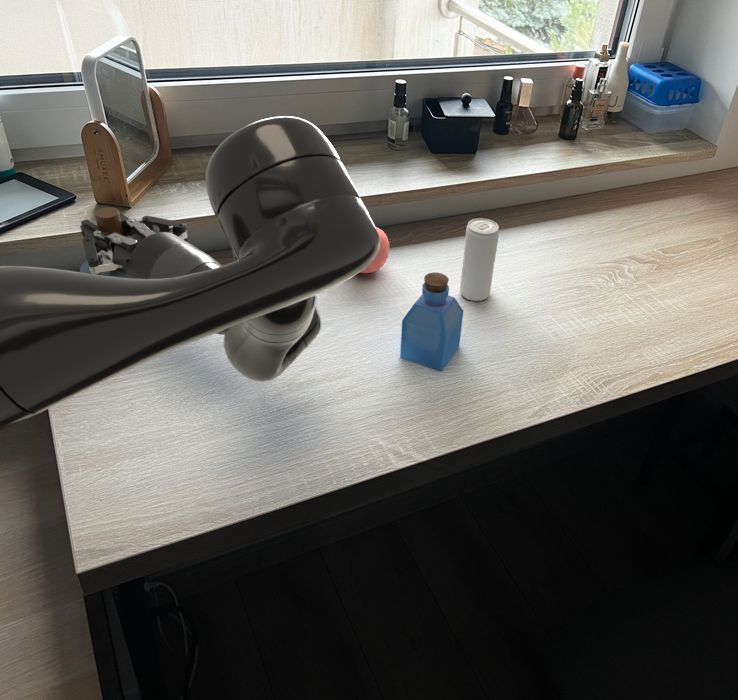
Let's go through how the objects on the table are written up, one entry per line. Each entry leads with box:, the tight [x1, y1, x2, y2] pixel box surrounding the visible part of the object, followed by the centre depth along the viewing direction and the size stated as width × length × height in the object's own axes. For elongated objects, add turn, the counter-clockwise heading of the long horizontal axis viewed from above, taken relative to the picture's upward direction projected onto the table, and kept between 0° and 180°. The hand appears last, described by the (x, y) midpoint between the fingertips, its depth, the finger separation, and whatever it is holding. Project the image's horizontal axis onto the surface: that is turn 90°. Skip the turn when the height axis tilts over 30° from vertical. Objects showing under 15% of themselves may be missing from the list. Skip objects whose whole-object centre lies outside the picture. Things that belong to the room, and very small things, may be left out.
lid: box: [79, 206, 130, 278], centre depth 93 cm, size 10×10×9 cm
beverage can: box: [459, 217, 500, 302], centre depth 109 cm, size 5×5×12 cm
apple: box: [358, 226, 390, 274], centre depth 112 cm, size 7×7×8 cm
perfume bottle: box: [399, 272, 464, 372], centre depth 97 cm, size 6×6×12 cm
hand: (97, 222), depth 93 cm, fingers closed on lid, 3 cm apart
